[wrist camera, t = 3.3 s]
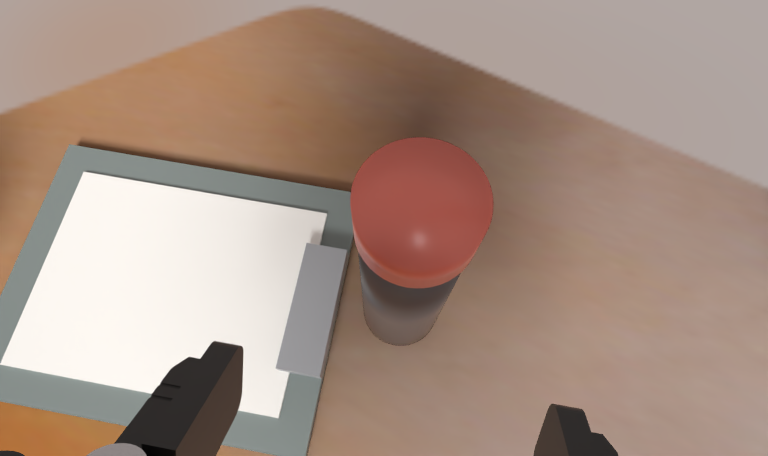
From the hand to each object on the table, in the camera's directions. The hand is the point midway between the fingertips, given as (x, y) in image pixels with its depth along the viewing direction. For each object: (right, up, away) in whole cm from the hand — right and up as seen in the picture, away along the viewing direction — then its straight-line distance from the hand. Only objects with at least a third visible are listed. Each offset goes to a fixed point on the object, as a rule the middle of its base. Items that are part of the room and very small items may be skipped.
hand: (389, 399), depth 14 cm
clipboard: (-10, +1, +13) cm, 16 cm away
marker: (+1, 0, +12) cm, 12 cm away
